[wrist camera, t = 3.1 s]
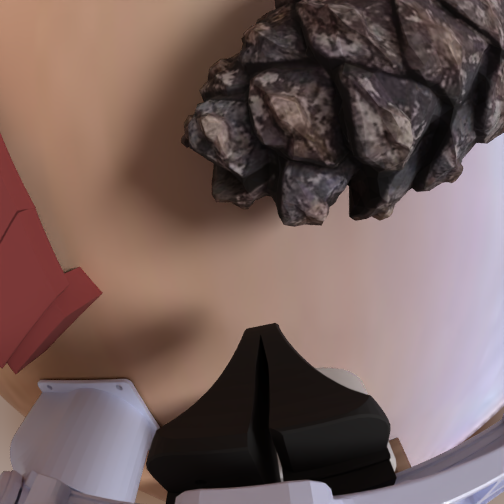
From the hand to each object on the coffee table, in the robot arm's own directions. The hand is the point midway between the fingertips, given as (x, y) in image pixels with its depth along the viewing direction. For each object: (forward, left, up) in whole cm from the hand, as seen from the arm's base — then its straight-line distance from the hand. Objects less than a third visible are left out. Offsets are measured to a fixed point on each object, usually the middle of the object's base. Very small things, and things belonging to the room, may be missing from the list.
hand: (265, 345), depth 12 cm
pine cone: (+8, +10, -4) cm, 13 cm away
